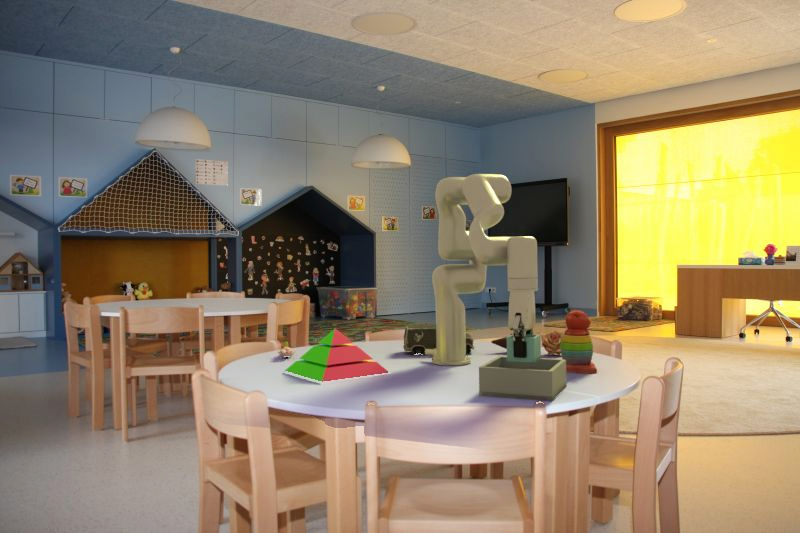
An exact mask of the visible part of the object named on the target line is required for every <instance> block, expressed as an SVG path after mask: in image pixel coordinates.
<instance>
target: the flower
mask: <svg viewBox="0 0 800 533" xmlns="http://www.w3.org/2000/svg"><path fill="white" fill-rule="evenodd" d="M563 334H564V332H562V331H561V332H560V331H557V330H555V329H554V330H551V331H550V332H547V333H546V332H545V333H543V334H540V336H541V348H544V350H545V351H546V352H547V354H546V356H548V355H553V354H555V355H557V356H561V341H562V336H563Z"/></svg>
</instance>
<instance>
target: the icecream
mask: <svg viewBox="0 0 800 533" xmlns="http://www.w3.org/2000/svg"><path fill="white" fill-rule="evenodd" d="M510 335H513V333H510ZM507 337H508V336H505V337H501V338H498V339H494V340H491V344H494V345H496V346H499V347H501V348H504V349H505V350H507Z"/></svg>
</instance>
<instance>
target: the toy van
mask: <svg viewBox="0 0 800 533" xmlns="http://www.w3.org/2000/svg"><path fill="white" fill-rule="evenodd" d="M402 346H403V347H402V348H403V350H404V352H412V354H413V355H414V354H416V353H417V354H418V353H421V354H424V355H425V350H426V349H435V348H436V323H429V324H425V323H424V324H408V325H406V326H405V329H404V334H403V345H402ZM472 350H475V346H474V337H473V336H471V334H469V333H467V332H466V355H470V354H471V353H472V352H471V351H472Z"/></svg>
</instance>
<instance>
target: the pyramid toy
mask: <svg viewBox="0 0 800 533" xmlns="http://www.w3.org/2000/svg"><path fill="white" fill-rule="evenodd" d="M284 371H288V372H292V373H294V374H298V375H301V376H304V377H308V378H311V379H315V380H318V381H322V382H323V381H331V380H338V379H345V378H353V377H360V376H367V375H374V374H382V373H388V372H389V371H388V370H387V369H386V368H385V367H384V366H382V365H381V364H380V363H379V362H378V361H376V360H373V358H372V357H371V356H370V355H369V354H368V353H366V352H365V350H363V349H361V347H359V346H358V345H356V344H354V342H353V341H351V339H349V338H348V337H346V335H344V334H343V333H342V332H340V331H339V330H338V329H337V328H335V327H334V329H333V330H331V331H330V332H329V333H328V334H326V335H325V336H324V337H323V338H322V339H321V340H319V341H318V344H315V345H314V346H312V347H311V348H309V350H307V351H306V352H305V353H304V354H303V355H302V356H300V357H299V360H296V361H294V362H293V363H292V364H291V365H290V366H288V367H287V368H286V369H285V370H284Z"/></svg>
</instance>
